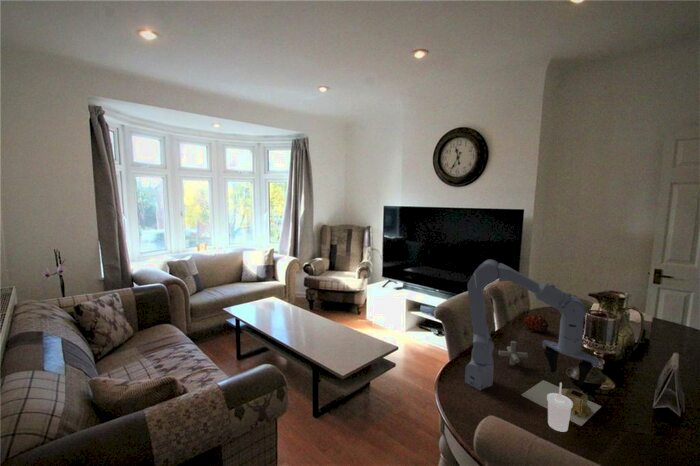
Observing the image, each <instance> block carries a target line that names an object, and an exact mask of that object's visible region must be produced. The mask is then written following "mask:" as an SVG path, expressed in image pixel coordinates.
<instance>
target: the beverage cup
mask: <svg viewBox="0 0 700 466" xmlns="http://www.w3.org/2000/svg"><path fill="white" fill-rule="evenodd" d="M559 387H560V388H559V394H558V393H549V394H548V395H547V401H548V409H547V423H548V426H549V427H550V428H551V429H553V430H554V431H557V432H561V433H562V432H563V433H565V432H568V430H569V424H570V420H569V419H570V413H571V408H572V407H573V402H572V401H571V400H570V399H569V398H568V397H566V396H564V395H562V394H561V389H563V388H562V387H563V383H562V382H561V381H560V382H559Z"/></svg>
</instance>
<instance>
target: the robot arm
mask: <svg viewBox="0 0 700 466" xmlns="http://www.w3.org/2000/svg"><path fill="white" fill-rule="evenodd" d="M497 279H498V282H499V283H500V282H511V283H513V284H515V285H517V286H518V287H521V288H523V289H525V290H527V291H530V292H532V293H534V296H535V299H537V300H539V301H541V302H543V303H544V304H546V305H547V306H549V307H552V308H554V309H555V310H558V311H559V310H561V311H562V315H561V317H560V322H559V323H560V324H559V334H558V342H554V341H551V340H547V339H545V340H542V345H541V346H542V347H543V348H544V351H543V352H544V353H543V354H544V355H545V357H546V359H547V361H548V364H549V369H550V373H552V374H554V373H555V372H557V369H558V356H559V353H560V354H562V355H565V356H568V357H571V358H573V359H576V360H579V361H581V362H579V363H578V373H579V375H578V380H577V381H578V382H577V383H578V385H579V386H582V385H584V383H585V380H586V377H587V376H588V374H589V373H590V371H591V370H592V369H593V367H595V368H596V367H598V366H599V361H600V359H599V358H597V357H595V356H593V355H592V354H589V353H587V352H585V351H582V343H583V332H584V324H583V318H584V317H585V315H586V313H587V312H586V309H585V307H584V304H583V302H582V301H581V300H580V299H579V298H580V297H578V296H577V295H575V294H572V293H570V292H564V291H562V290H561V289H559V288H557V287H556V285H555V284H553V283H550V284H549V283H547V282H543V283H538V282H537V281H535V280H533V279H532V278H530V277H527V276H525V275H524V274H522V273H521V272H519V271H518V270H515V269H513V268H512V267H510V266H508V265H506V264H505V263H502V262H498V261H497V260H495V259H491V258H490V259H486V260H485V261H483V262H481V264H479V265H478V267H477V268H476V269H475V270H474V272H473V274H472V275H471V277H470V279H469V281H468V282H467V285H466V286H467V294H468V302H469V309H470V316H471V325H472V333H473V337H472V345H473V346H472V350H471V354H470V355H471V360H470V361H469V363H468V364H466V365H465V370H464V371H465V372H464V383H466V384H468V385H469V386H471V387H472V388H475V389H476V390H478V391H482V390H483V389H486V388H489V387H492V386H493V385H494V363H495V360H494V358H493V356H492V355H493V353H494V350H495V344H494V341H493V340H492V339H491V334H490V332H489V329H488V328H489V327H488V320H487V312H486V305H485V304H486V303H485V296H484V288H485V287H486V286H488V285H490V284H492V283H494V282H495V281H497Z"/></svg>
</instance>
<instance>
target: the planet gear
mask: <svg viewBox="0 0 700 466" xmlns="http://www.w3.org/2000/svg"><path fill="white" fill-rule="evenodd" d="M568 389H569V390H568V391H567V392H566V397H568V398H569V399H570V400H571V401H572V402H573V407H572V408H571V413H570V414H572V415H575V414H576V415H577V416H578V417H586V416H587V417H589V416H590V415H591V408H590V407H589V406H588V405H587V400H588V395H589V394H587V393H585V392H582V391H581V390H578V389H576V388H572V387H571V388H568Z"/></svg>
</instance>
